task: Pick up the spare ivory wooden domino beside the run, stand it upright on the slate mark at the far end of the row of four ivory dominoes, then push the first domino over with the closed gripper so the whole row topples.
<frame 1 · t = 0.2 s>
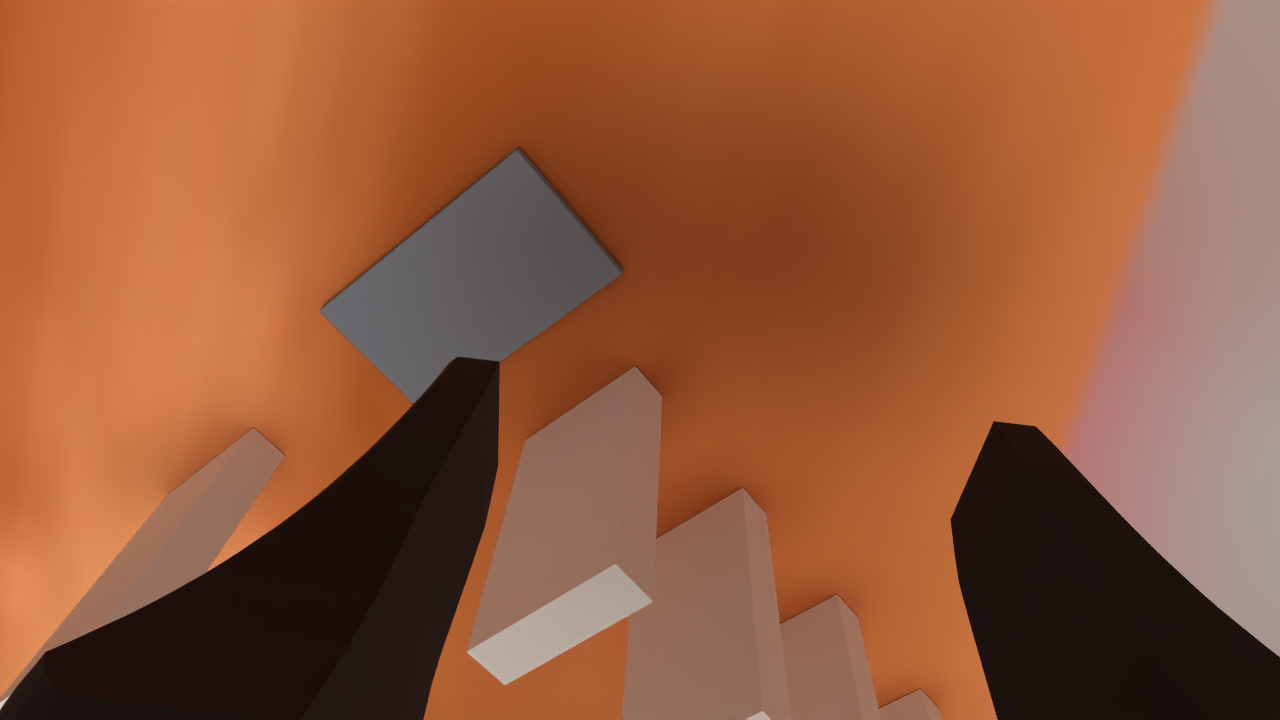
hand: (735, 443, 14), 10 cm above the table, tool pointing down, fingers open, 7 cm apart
domino 3: (699, 533, 28), on the table
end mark: (470, 288, 24), on the table
domino 4: (592, 418, 26), on the table
domino 5: (225, 475, 27), on the table
domino 2: (793, 634, 29), on the table
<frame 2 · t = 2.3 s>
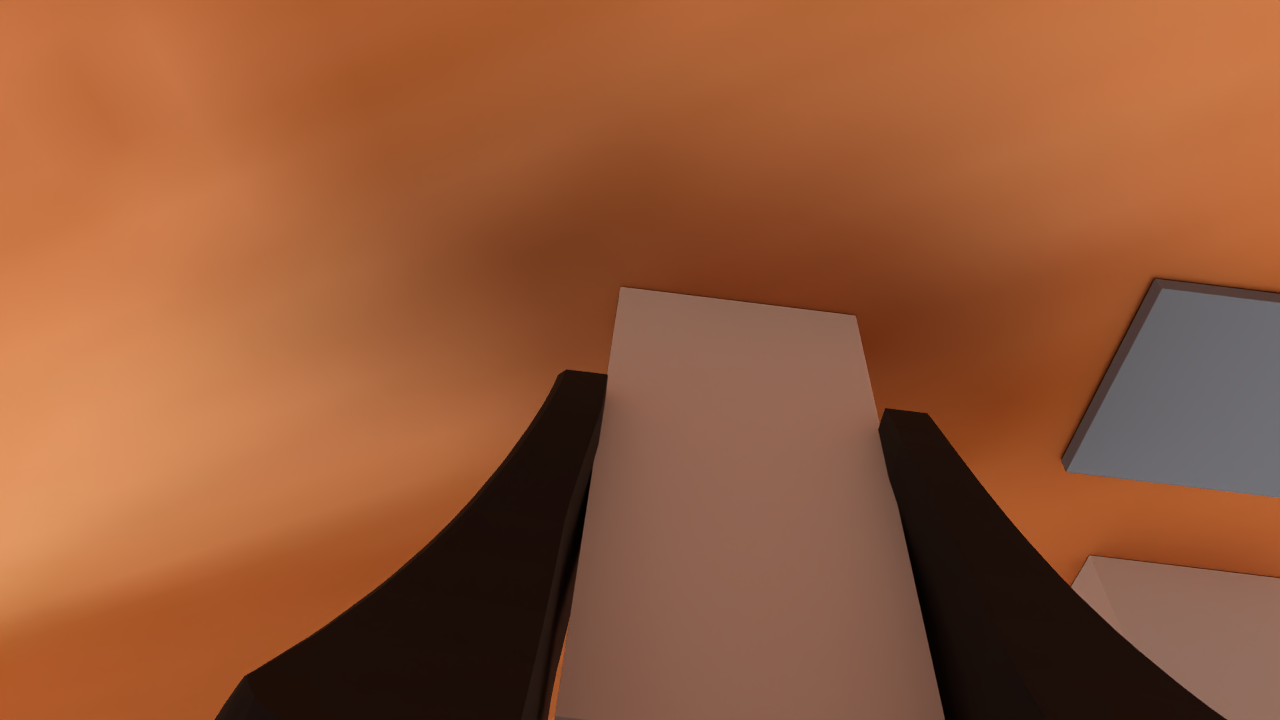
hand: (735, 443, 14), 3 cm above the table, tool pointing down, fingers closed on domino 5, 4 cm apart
domino 4: (1173, 586, 19), on the table
domino 5: (732, 330, 16), on the table, touching gripper
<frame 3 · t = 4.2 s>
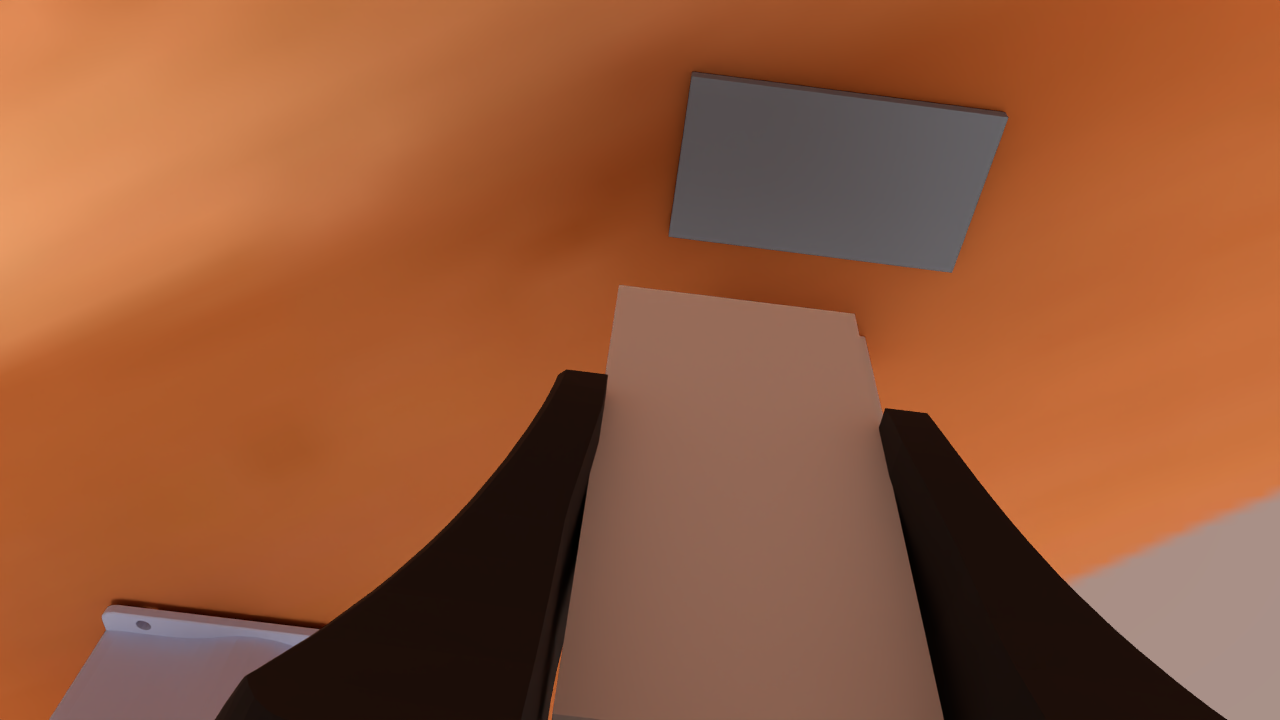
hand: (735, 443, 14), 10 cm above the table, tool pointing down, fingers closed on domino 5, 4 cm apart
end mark: (828, 174, 22), on the table
domino 4: (785, 345, 25), on the table
domino 5: (731, 328, 16), point 7 cm above the table, touching gripper
when the fingers open (4 cm above the table, at t = 6.3 s): domino 5 stays where it is, resting on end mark.
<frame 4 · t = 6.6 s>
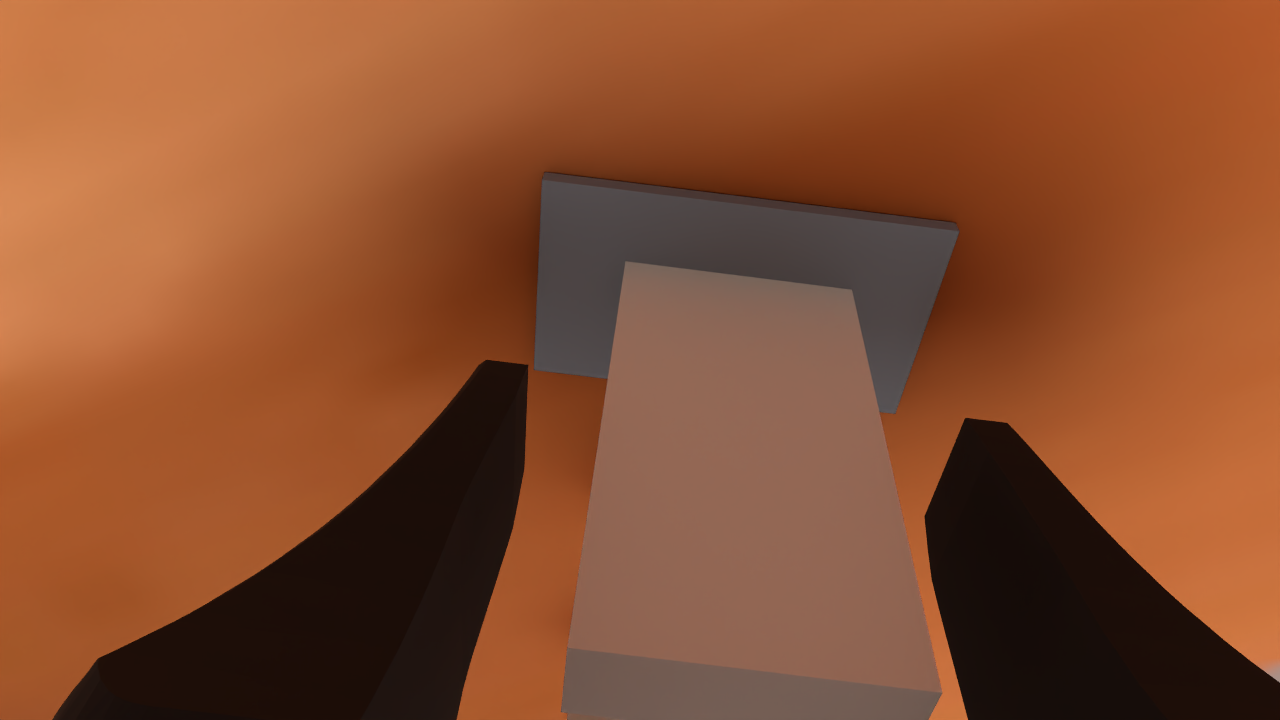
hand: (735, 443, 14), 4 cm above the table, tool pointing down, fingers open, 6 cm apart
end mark: (731, 296, 17), on the table
domino 5: (733, 303, 17), resting on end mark
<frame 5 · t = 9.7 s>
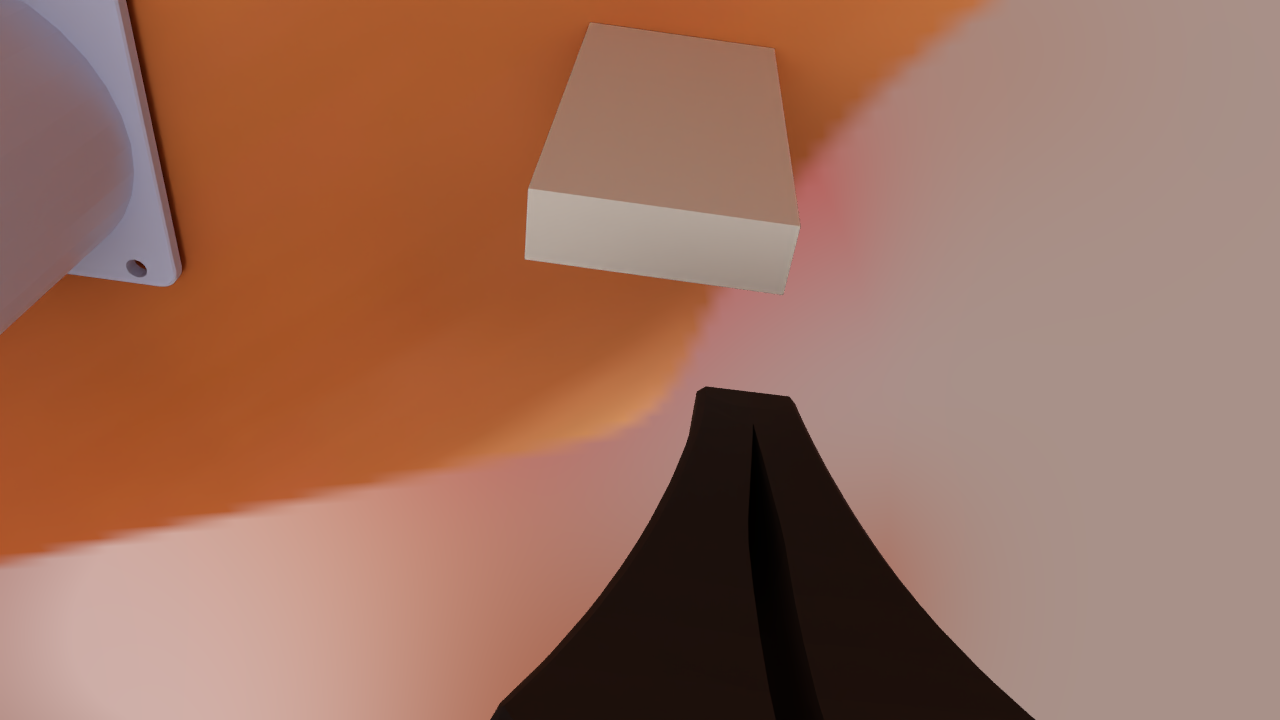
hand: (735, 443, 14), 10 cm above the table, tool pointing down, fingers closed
domino 1: (678, 62, 20), on the table
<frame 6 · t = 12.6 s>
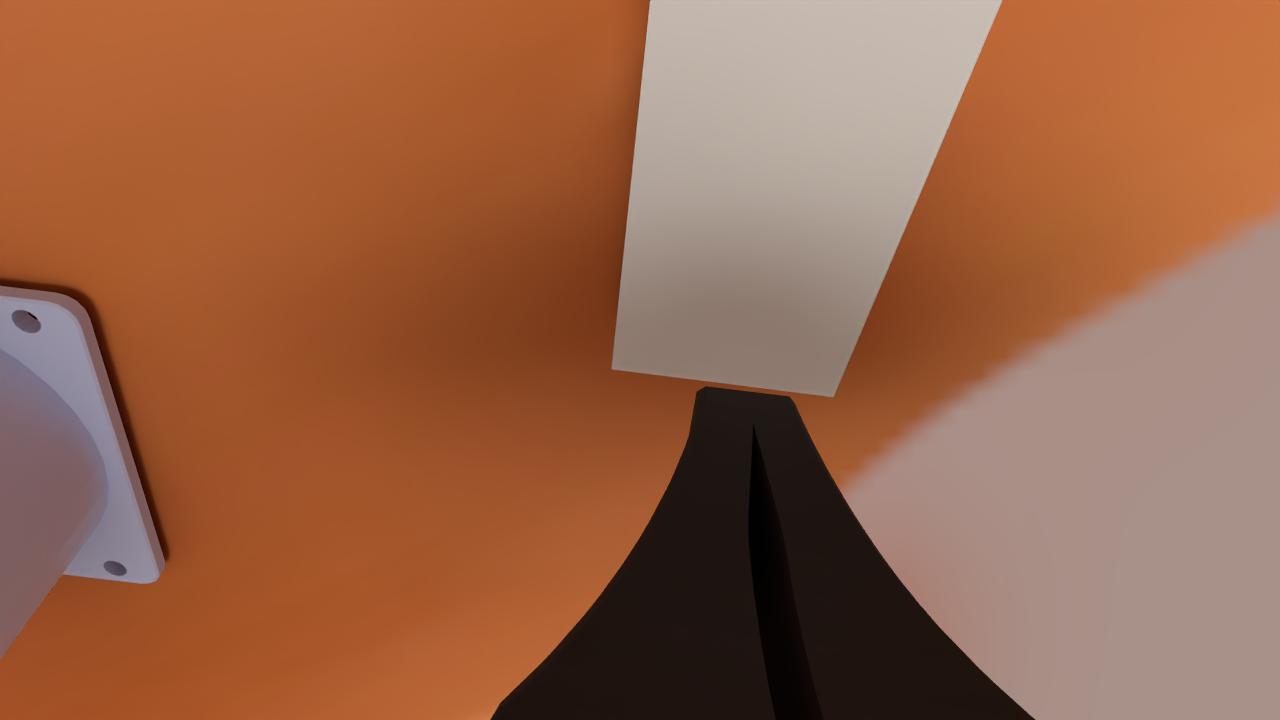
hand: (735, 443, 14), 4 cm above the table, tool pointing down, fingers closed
domino 1: (723, 357, 17), point 1 cm above the table, tilted 76°, touching domino 2
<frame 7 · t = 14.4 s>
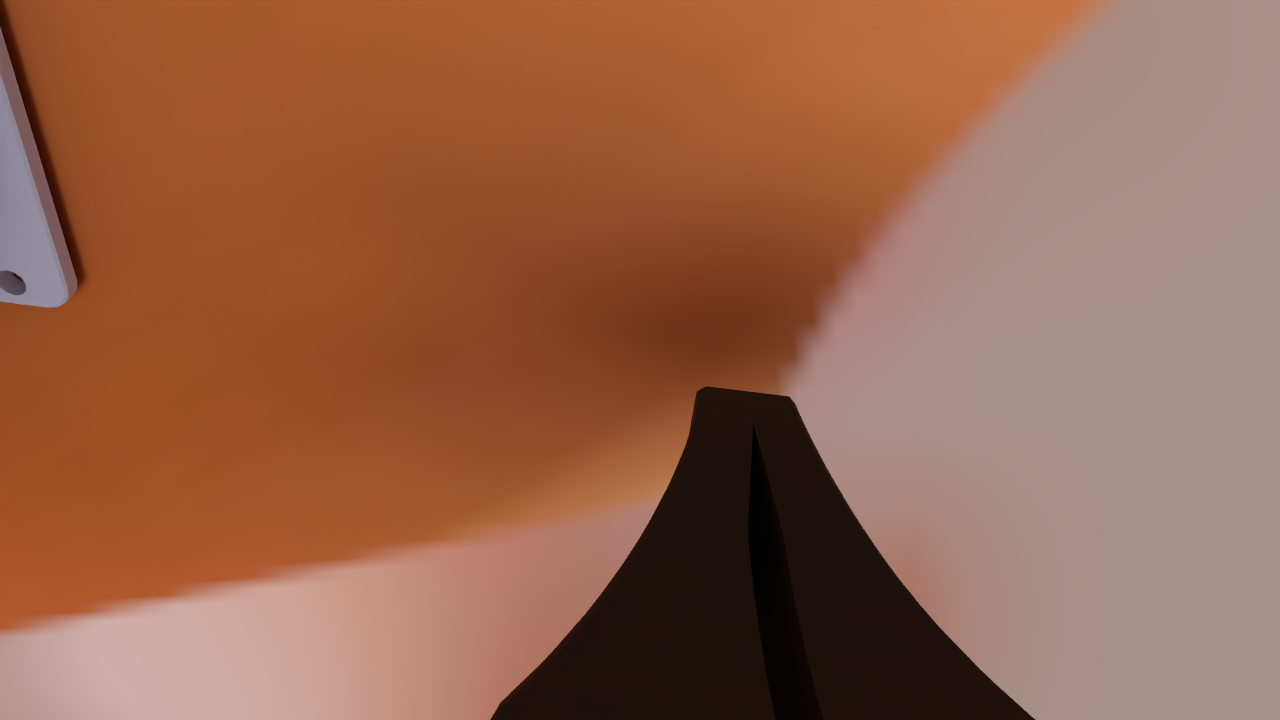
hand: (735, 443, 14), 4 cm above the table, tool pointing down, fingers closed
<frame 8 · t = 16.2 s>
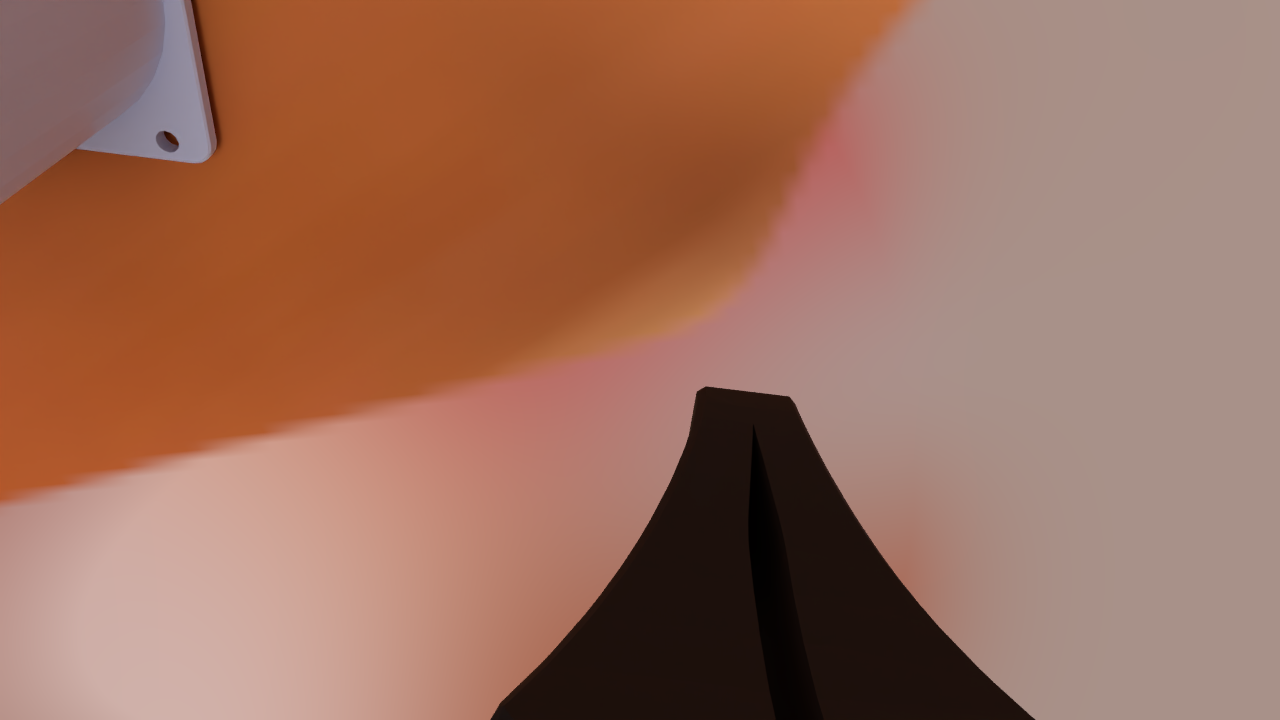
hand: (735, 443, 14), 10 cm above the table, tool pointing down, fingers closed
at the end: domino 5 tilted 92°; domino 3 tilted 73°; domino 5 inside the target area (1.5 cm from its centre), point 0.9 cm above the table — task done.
